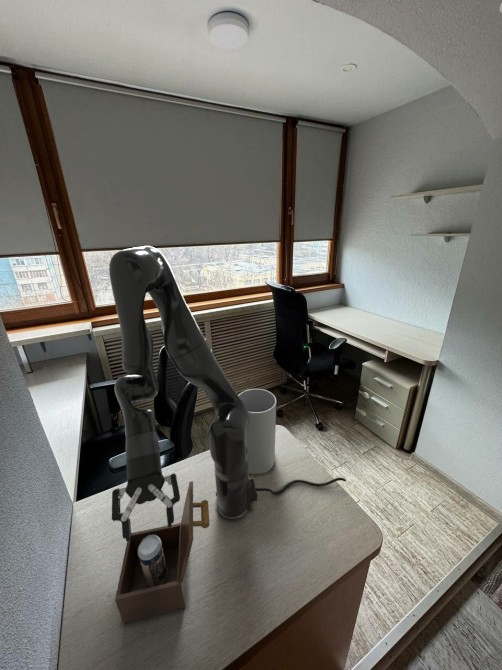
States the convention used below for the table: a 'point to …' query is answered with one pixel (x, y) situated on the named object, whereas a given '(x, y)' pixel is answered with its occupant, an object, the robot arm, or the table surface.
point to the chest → (132, 588)
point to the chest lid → (190, 528)
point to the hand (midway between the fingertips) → (149, 533)
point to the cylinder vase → (260, 429)
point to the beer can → (152, 561)
